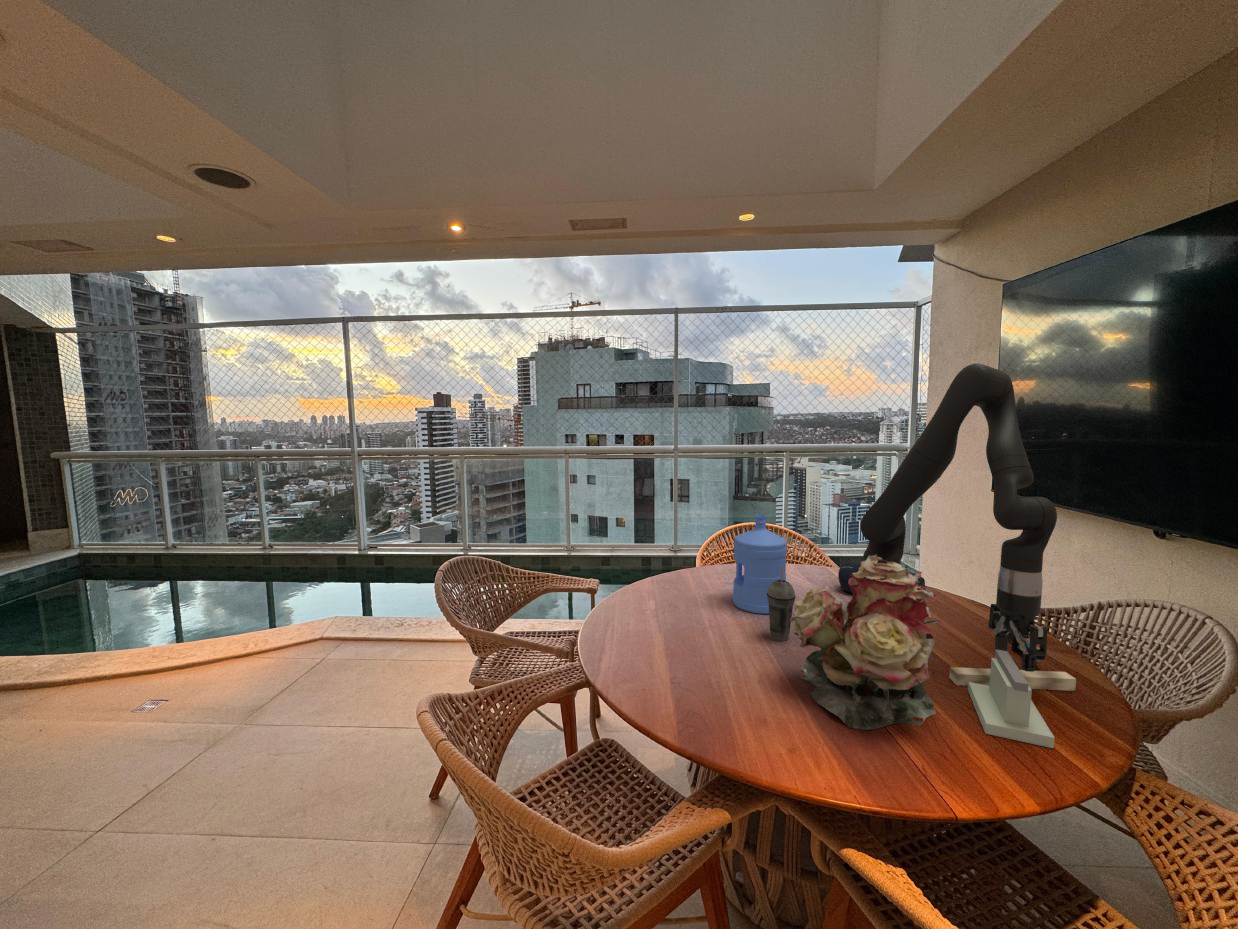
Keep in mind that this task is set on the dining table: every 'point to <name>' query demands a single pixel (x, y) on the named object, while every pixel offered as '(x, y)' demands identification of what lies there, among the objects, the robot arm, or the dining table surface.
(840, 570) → the portable speaker
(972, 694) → the stand
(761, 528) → the water jug
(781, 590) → the beverage cup
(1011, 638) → the knife
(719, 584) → the dining table surface
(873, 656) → the rose bouquet
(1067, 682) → the bar
